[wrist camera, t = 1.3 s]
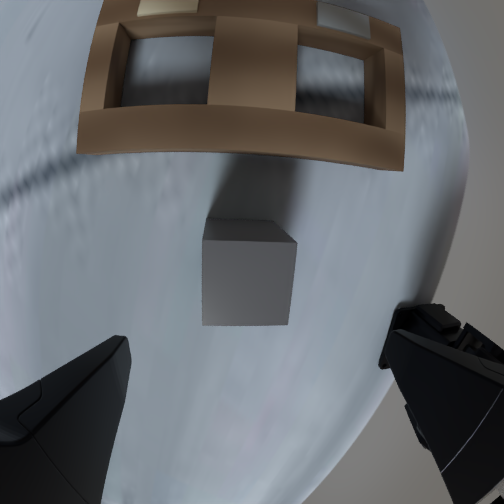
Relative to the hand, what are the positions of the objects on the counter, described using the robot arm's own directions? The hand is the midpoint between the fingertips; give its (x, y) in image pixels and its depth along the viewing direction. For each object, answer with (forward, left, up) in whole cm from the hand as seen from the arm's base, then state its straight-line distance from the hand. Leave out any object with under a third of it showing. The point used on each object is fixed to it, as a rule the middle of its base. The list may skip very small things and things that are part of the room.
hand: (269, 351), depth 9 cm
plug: (0, 0, -11) cm, 11 cm away
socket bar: (+12, 0, -11) cm, 16 cm away
